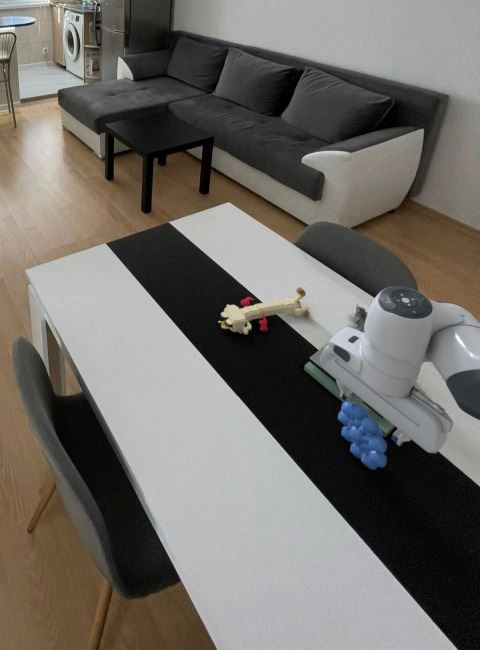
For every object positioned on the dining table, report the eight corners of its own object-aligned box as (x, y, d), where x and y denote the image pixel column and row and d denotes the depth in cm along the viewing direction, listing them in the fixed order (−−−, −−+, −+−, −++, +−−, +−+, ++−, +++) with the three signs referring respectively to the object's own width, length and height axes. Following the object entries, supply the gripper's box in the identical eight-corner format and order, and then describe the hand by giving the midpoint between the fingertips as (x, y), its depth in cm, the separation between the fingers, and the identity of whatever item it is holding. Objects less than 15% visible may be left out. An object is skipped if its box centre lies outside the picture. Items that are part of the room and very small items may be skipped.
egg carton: (352, 313, 116) (355, 302, 114) (386, 324, 112) (389, 312, 111) (352, 343, 108) (355, 331, 106) (388, 356, 104) (392, 343, 102)
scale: (423, 396, 95) (427, 386, 94) (385, 437, 87) (388, 428, 86) (342, 338, 109) (344, 329, 108) (303, 369, 102) (305, 360, 101)
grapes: (399, 485, 80) (413, 444, 75) (363, 489, 80) (376, 448, 75) (357, 421, 91) (368, 382, 86) (326, 424, 90) (336, 385, 86)
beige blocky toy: (288, 299, 123) (210, 313, 118) (294, 275, 120) (214, 288, 115) (313, 326, 114) (229, 343, 109) (320, 301, 111) (234, 317, 106)
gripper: (465, 407, 69) (442, 460, 74) (339, 320, 86) (328, 369, 91) (446, 429, 66) (424, 482, 72) (320, 335, 83) (310, 384, 88)
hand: (370, 418), depth 81 cm, fingers open, 8 cm apart
